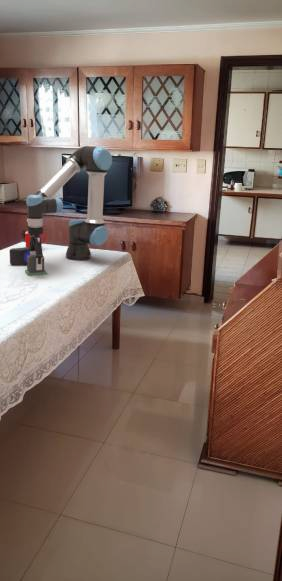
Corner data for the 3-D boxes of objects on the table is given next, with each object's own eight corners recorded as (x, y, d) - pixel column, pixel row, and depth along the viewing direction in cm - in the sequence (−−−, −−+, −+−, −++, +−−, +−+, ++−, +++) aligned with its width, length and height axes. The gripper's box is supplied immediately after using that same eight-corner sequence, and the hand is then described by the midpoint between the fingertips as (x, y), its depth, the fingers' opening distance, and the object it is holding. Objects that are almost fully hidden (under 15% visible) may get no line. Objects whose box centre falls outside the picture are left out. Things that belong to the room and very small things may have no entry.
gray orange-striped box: (42, 269, 240) (41, 254, 238) (44, 271, 236) (44, 256, 233) (27, 270, 237) (26, 255, 234) (29, 272, 232) (28, 257, 230)
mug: (24, 250, 283) (24, 233, 279) (27, 247, 290) (27, 231, 287) (44, 251, 283) (43, 234, 280) (46, 248, 291) (46, 231, 288)
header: (44, 270, 242) (43, 260, 240) (47, 274, 236) (47, 264, 234) (25, 272, 238) (24, 261, 236) (28, 275, 232) (27, 265, 230)
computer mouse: (12, 267, 246) (11, 250, 243) (9, 264, 249) (8, 248, 246) (40, 264, 254) (40, 247, 251) (37, 262, 258) (37, 246, 255)
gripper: (22, 222, 238) (23, 260, 244) (33, 231, 217) (34, 273, 223) (36, 221, 241) (37, 260, 248) (48, 230, 220) (49, 272, 227)
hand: (36, 266), depth 236 cm, fingers open, 13 cm apart
